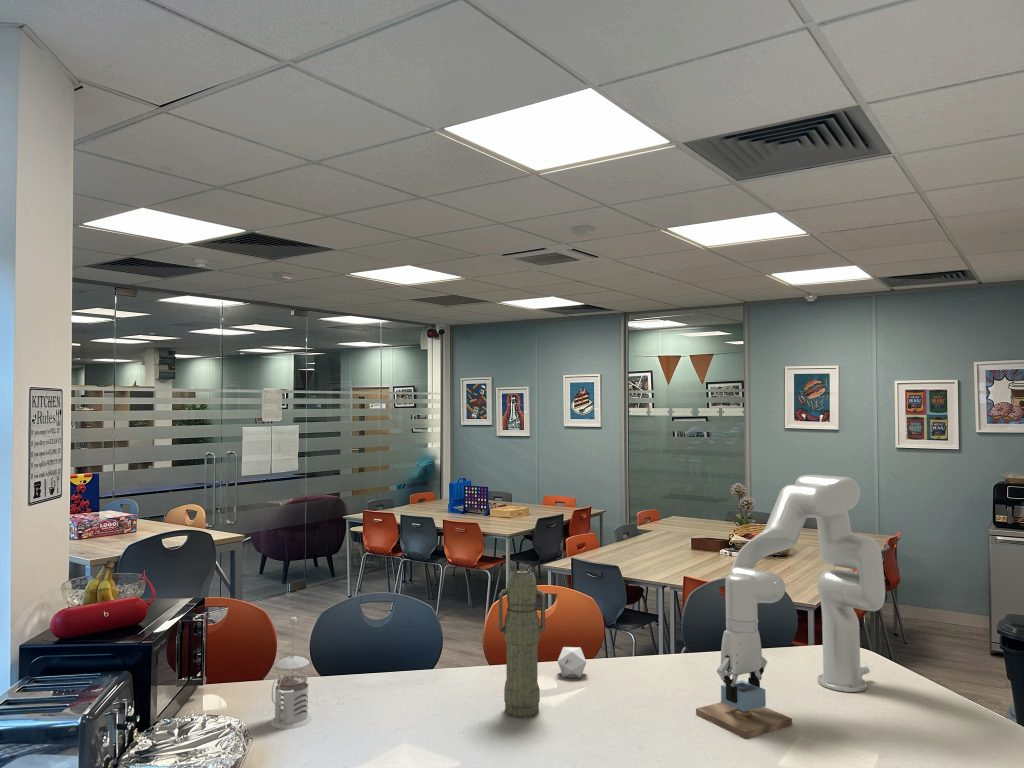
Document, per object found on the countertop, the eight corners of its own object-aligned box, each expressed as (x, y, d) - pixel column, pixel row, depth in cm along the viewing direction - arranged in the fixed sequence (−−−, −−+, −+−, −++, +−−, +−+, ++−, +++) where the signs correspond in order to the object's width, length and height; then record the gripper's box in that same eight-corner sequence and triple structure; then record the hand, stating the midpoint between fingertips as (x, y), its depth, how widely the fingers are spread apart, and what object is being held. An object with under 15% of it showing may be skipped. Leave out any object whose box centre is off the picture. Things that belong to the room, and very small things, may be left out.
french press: (320, 715, 181) (321, 613, 182) (291, 734, 170) (293, 625, 171) (286, 710, 184) (288, 610, 186) (256, 728, 173) (259, 622, 175)
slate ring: (742, 696, 184) (742, 680, 184) (765, 706, 178) (765, 689, 178) (721, 701, 181) (720, 685, 181) (744, 711, 174) (743, 694, 174)
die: (552, 675, 213) (551, 654, 208) (569, 654, 218) (569, 634, 213) (574, 690, 208) (574, 670, 203) (591, 669, 214) (592, 649, 208)
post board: (741, 702, 190) (741, 673, 190) (792, 724, 176) (791, 693, 176) (695, 714, 182) (695, 684, 182) (745, 738, 168) (744, 705, 168)
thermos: (548, 716, 180) (548, 574, 182) (501, 719, 179) (502, 575, 181) (541, 703, 189) (541, 567, 191) (496, 706, 187) (497, 568, 189)
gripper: (754, 617, 188) (756, 687, 187) (704, 626, 179) (706, 700, 178) (778, 624, 181) (779, 697, 180) (727, 633, 173) (728, 710, 172)
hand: (743, 697), depth 179 cm, fingers closed on slate ring, 7 cm apart
